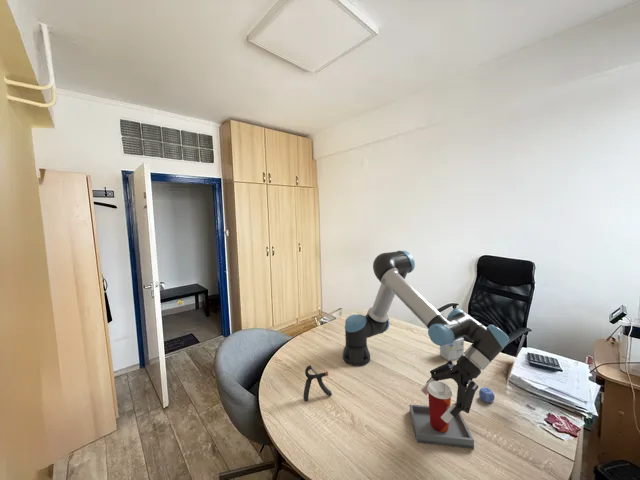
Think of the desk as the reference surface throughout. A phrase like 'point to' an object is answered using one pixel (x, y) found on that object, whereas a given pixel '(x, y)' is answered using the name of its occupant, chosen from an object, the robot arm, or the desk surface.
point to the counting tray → (453, 437)
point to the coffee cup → (438, 404)
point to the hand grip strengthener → (319, 379)
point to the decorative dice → (486, 395)
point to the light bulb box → (453, 349)
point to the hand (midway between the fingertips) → (432, 405)
